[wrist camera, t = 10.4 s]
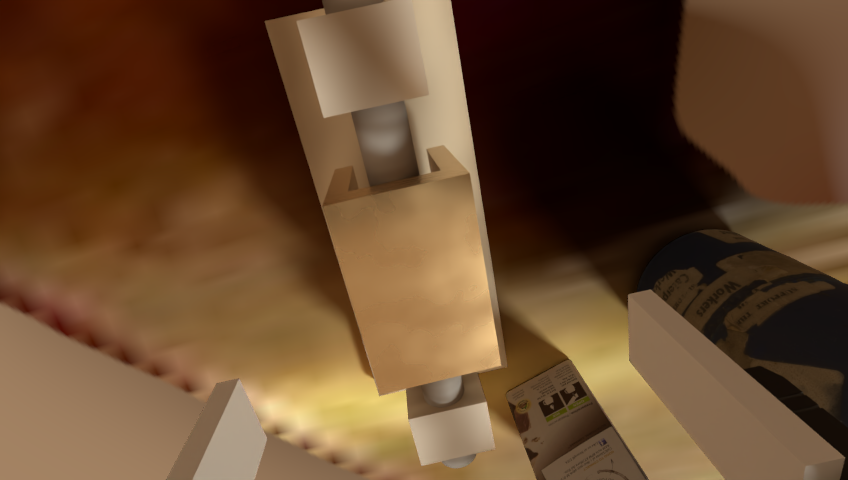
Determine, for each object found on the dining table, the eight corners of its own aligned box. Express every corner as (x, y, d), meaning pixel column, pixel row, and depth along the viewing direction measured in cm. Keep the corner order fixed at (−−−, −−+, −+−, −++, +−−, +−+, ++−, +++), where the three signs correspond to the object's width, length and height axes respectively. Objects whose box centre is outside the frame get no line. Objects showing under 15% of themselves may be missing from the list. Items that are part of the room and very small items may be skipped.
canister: (652, 214, 31) (958, 383, 15) (767, 229, 33) (1166, 400, 16) (611, 328, 35) (822, 569, 18) (717, 337, 36) (1004, 570, 20)
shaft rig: (443, -14, 25) (478, -57, 16) (502, 354, 35) (544, 453, 26) (270, 23, 25) (210, 1, 16) (379, 382, 35) (379, 490, 26)
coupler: (443, 144, 25) (469, 172, 18) (471, 297, 28) (501, 365, 22) (334, 169, 24) (322, 206, 18) (377, 319, 28) (379, 395, 22)
